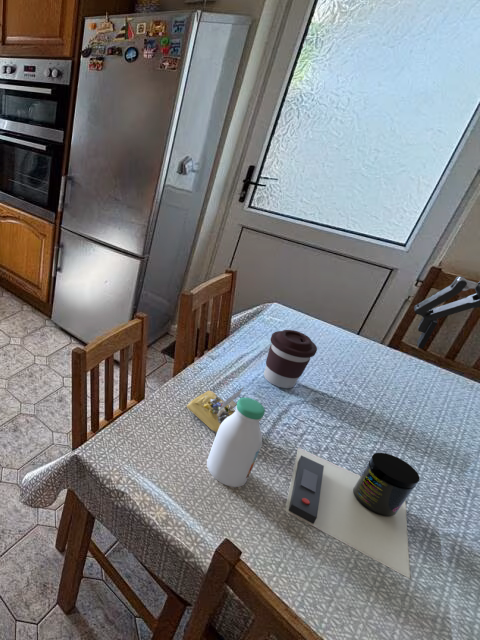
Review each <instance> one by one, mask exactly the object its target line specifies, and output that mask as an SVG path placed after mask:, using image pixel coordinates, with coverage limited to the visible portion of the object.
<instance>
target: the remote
mask: <svg viewBox="0 0 480 640" xmlns="http://www.w3.org/2000/svg"><path fill="white" fill-rule="evenodd" d="M323 469H324V466H323V465H321V464H319V463H317V462H315V461H312V460H310V459H308V458H306V457H304V456H302V455H301V457H300V459H299V461H298V465H297V470H296V476H295V481H294V486H293V491H292V496H291V501H290V506H289V511H290V512H292V513H294V514H296V515H298V516H300V517H301V518H303V519H305V520H307V521H309V522H311V523H312V524H314V522H315V520H316V518H317V514H318V506H319V499H320V491H321V484H322V476H323Z"/></svg>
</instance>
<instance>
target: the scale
mask: <svg viewBox="0 0 480 640" xmlns="http://www.w3.org/2000/svg"><path fill="white" fill-rule="evenodd" d="M301 455H302V456H304V457H306V458H308V459H310V460H312V461H315V462H317V463H319V464H321V465H323V466H324V469H323V476H322V484H321V491H320V499H319V506H318V514H317V518H316V520H315V522H314V524H312V523H311V522H309V521H307V520H305V519H303V518H301V517H300V516H298V515H296V514H294V513H292V512H290V511H289V506H290V501H291V496H292V491H293V486H294V481H295V476H296V470H297V465H298V461H299V459H300V457H301ZM360 476H361V474H358V473H355V472H353V471H351V470H349V469H346V468H344V467H342V466H340V465H337V464H335V463H333V462H331V461H329V460H327V459H325V458H322V457H320V456H319V455H316V454H313V453H311V452H309V451H308V450H305V449H303V448H301V447H297V450H296V455H295V461H294V465H293V469H292V475H291V480H290V485H289V489H288V495H287V499H286V503H285V504H286V505H285V510H284V511H285V512H286V513H288V514H290V515H292V516H293V517H295V518H297V519H299V520H300V521H302V522H304V523H306V524H308V525H310V526H312V527H314V528H316V529H317V530H319V531H321V532H323V533H324V534H326V535H328V536H329V537H331V538H333V539H336V540H337V541H340V542H341V543H343V544H345V545H347V546H349V547H350V548H352V549H354V550H356V551H357V552H359V553H361V554H363V555H365V556H366V557H369V558H370V559H372V560H375V561H376V562H378V563H379V564H381V565H383V566H386V567H387V568H389V569H391V570H392V571H395V572H397V573H398V574H400V575H402V576H404V577H406V578H407V579H409V580H411V573H410V572H411V570H410V556H409V555H410V554H409V538H408V522H407V519H408V518H407V503H406V500H405V501H404V503H403V504H402V506H401V507H400V509H399V510H398V512H397V513H396V514H395V515H394V516H390V517H386V516H381V515H377V514H375V513H373V512H371V511H369V510H368V509H366V508H365V507H363V506H362V505H361V504H360V503H359V502H358V501H357V499H356V498H355V496H354V493H353V488H354V486H355V485H356V483H357V481H358V480H359V478H360Z"/></svg>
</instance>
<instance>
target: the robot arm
mask: <svg viewBox="0 0 480 640" xmlns="http://www.w3.org/2000/svg"><path fill="white" fill-rule="evenodd" d="M473 289H474V290H475V292H476V293H473V294H471V295H468V296H466V297H464V298H462V299H459V300H455V301H453V302H449V303H446V304H443V303H445V302H447V301H448V300H450V299H452V298H453V297H456V296H457V295H459V294H460V293H461V292H467V291H469V290H473ZM441 304H443V305H441ZM439 305H440V306H439ZM478 308H480V281H479V282H476V281H472V280H468V279H466V278H465V277H464V276H461V275H459V276H457V277H455V279H454V280H453V281H452V283H451V284H450V285H448V286H445V287H444V288H443V289H441V290H439V291H437V292H436V293H434V294H432V295H431V296H428V297H427V298H426V299H424V300H422V301H420V302H419V303H417V304H415V305H414V307H413V309H414V313H415V314H416V315H417V316H421V317H422V318H421V320H420V321H419V324H418V325H417V330H418V332H419V333H420V335H419V337H418V339H417V340H416V345H417V348H418V349H421V350H423V349H424V348H425V346H426V344H427V342H428V341H429V339H430V338H431V336H432V334H433V332H434V330H435V328H436V327H437V325H438V319H442V318H444V317H447V316H451V315H454V314H457V313H461V312H464V311H467V310H471V309H478Z"/></svg>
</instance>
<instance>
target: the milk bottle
mask: <svg viewBox="0 0 480 640" xmlns="http://www.w3.org/2000/svg"><path fill="white" fill-rule="evenodd" d="M236 404H237V405H236V406H235V412H234V413H233V414H232V415H230V416H228V417H227V418H226V419H225V420H224V421H223V422H222V423H221V425H220V427H219V429H218V431H217V432H216V435H215V437H214V440H213V443H212V445H211V449H210V450H209V451H210V452H209V454H208V457H207V460H206V467H207V470H208V472H209V473H210V475H211V476H212V477H213V478H214V479H215V480H216V481H217V482H219V483H220V484H223V485H224V486H228V487H231V488H241V487H242V486H244V485H245V484H246V483H247V481H248V479H249V477H250V474H251V472H252V470H253V468H254V465H255V463H256V460H257V458H258V456H259V453H260V450H261V447H262V442H263V436H262V435H263V434H262V430H261V427H260V422H261V421H262V420H263V417H264V416H265V412H266V411H265V410H266V409H265V407H264V405H263V404H262V403H261V402H259V401H258V400H256V399H255V398H252V397H251V398H250V397H240V398H239V399H238V400H237V403H236Z"/></svg>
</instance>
